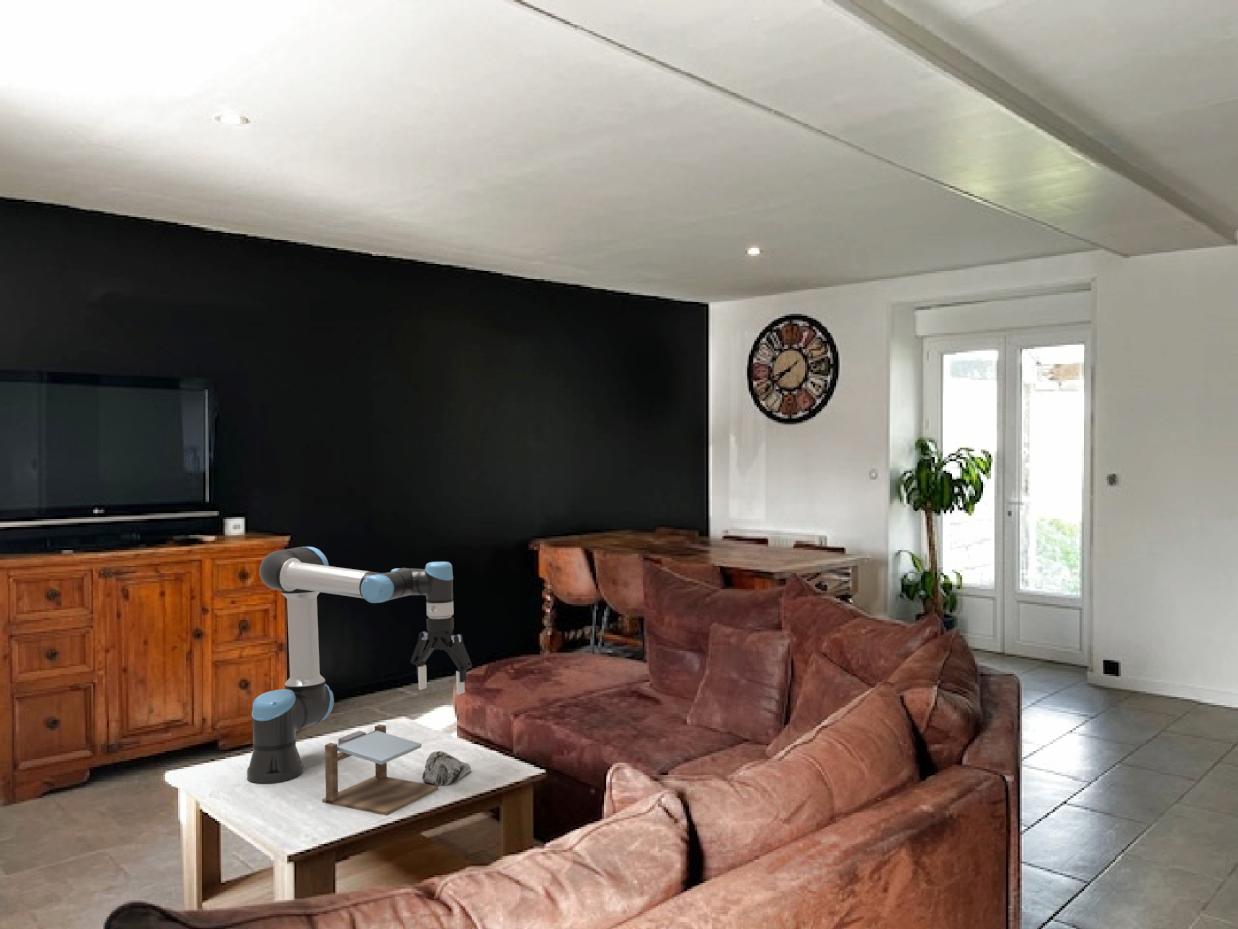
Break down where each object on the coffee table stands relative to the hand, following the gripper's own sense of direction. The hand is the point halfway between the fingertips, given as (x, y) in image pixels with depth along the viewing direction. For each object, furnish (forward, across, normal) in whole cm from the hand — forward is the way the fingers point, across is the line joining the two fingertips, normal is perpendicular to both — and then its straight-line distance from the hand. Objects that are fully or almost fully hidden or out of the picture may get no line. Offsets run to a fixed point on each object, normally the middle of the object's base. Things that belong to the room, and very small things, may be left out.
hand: (441, 691), depth 266 cm
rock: (+25, 0, +1) cm, 25 cm away
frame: (+25, -6, -19) cm, 32 cm away
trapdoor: (+12, -8, -19) cm, 24 cm away
